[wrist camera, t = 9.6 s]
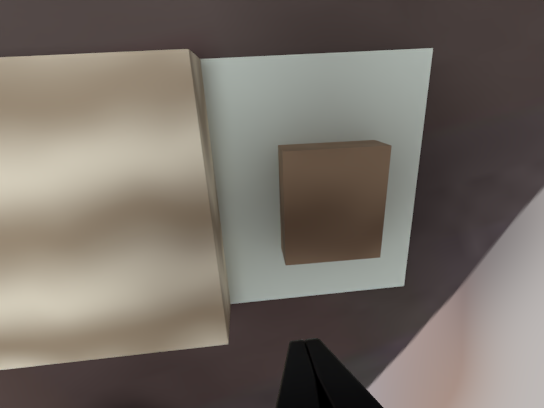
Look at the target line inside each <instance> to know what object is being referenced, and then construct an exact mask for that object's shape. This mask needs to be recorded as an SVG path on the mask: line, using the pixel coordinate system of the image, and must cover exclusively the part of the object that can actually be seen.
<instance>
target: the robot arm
mask: <svg viewBox="0 0 544 408" xmlns="http://www.w3.org/2000/svg"><path fill="white" fill-rule="evenodd" d="M276 408H383V407H382V406H381V405H380V404H379V403H378V401H377V400H376V399H375V398H374V397H373V396H372V395H371V394H370V393H369V392H368V391H367V390H366V389H365V387H364V386H363V385H362V384H361V383H360V382H359V381H358V380H357V379H356V378H355V377H354V376H353V375H352V373H351V372H350V371H349V370H348V369H347V368H346V367H345V366H344V365H343V364H342V363H341V362H340V361H339V360H338V358H337V357H336V356H335V355H334V354H333V353H332V352H331V351H330V350H329V349H328V348H327V347H326V346H325V344H324V343H323V342H322V341H321V340H320V339H318V338H313V339H306V340H305V341H304V340H294V341H290V343H289V348H288V352H287V357H286V361H285V366H284V371H283V375H282V380H281V385H280V389H279V394H278V398H277V403H276Z"/></svg>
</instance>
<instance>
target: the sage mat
mask: <svg viewBox="0 0 544 408" xmlns="http://www.w3.org/2000/svg"><path fill="white" fill-rule="evenodd" d="M432 53H433V48H423V49H402V50H381V51H360V52H339V53H318V54H297V55H276V56H255V57H234V58H212V59H200V61H201V69H202V77H203V85H204V93H205V101H206V109H207V117H208V125H209V133H210V142H211V150H212V158H213V166H214V174H215V182H216V190H217V198H218V206H219V214H220V222H221V230H222V238H223V246H224V255H225V263H226V271H227V279H228V287H229V295H230V303H231V304H235V303H245V302H254V301H264V300H274V299H283V298H293V297H302V296H312V295H322V294H331V293H341V292H350V291H360V290H370V289H379V288H389V287H398V286H404V281H405V273H406V265H407V257H408V249H409V241H410V232H411V224H412V216H413V208H414V200H415V192H416V183H417V175H418V167H419V159H420V151H421V143H422V135H423V126H424V118H425V110H426V102H427V94H428V86H429V77H430V69H431V61H432ZM363 140H377V141H380V142H383V143H386V144H389V145H391V146H392V147H391V157H390V167H389V177H388V186H387V196H386V206H385V216H384V226H383V236H382V246H381V255H380V258H369V259H357V260H346V261H334V262H322V263H310V264H298V265H285V261H284V257H283V253H282V249H281V225H280V193H279V161H278V145H289V144H308V143H326V142H345V141H363Z"/></svg>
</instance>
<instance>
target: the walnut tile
mask: <svg viewBox="0 0 544 408" xmlns="http://www.w3.org/2000/svg"><path fill="white" fill-rule="evenodd" d="M391 147H392V146H391V145H389V144H386V143H383V142H380V141H377V140H363V141H345V142H326V143H308V144H289V145H278V161H279V193H280V225H281V249H282V253H283V257H284V261H285V265H298V264H310V263H322V262H334V261H346V260H357V259H369V258H380V255H381V246H382V236H383V226H384V216H385V206H386V196H387V186H388V177H389V167H390V157H391Z"/></svg>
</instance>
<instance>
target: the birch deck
mask: <svg viewBox="0 0 544 408" xmlns="http://www.w3.org/2000/svg"><path fill="white" fill-rule="evenodd" d="M230 306H231V303H230V295H229V287H228V279H227V271H226V263H225V255H224V246H223V238H222V230H221V222H220V214H219V206H218V198H217V190H216V182H215V174H214V166H213V158H212V150H211V142H210V133H209V125H208V117H207V109H206V101H205V93H204V85H203V77H202V69H201V61H200V58H198V57H197V56H196V55H195V54H194V53H193V52H191V51H190V50H189V49H176V50H154V51H131V52H109V53H87V54H65V55H42V56H20V57H0V370H5V369H14V368H22V367H31V366H40V365H49V364H58V363H67V362H75V361H84V360H93V359H102V358H111V357H120V356H128V355H137V354H146V353H155V352H164V351H173V350H181V349H190V348H199V347H208V346H217V345H225V344H228V341H229V323H230Z"/></svg>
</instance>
